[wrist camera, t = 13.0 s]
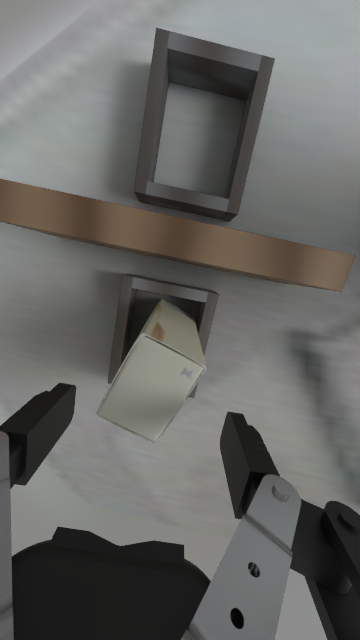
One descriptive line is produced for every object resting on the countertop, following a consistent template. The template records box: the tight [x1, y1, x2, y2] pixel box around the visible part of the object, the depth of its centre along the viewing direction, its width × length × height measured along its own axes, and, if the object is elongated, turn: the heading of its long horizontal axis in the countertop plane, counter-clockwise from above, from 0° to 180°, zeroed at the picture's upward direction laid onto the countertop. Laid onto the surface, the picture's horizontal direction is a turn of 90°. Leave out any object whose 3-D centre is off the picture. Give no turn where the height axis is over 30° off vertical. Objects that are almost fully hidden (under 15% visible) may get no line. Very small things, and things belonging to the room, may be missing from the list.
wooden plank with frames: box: [0, 28, 355, 398], centre depth 19 cm, size 24×29×8 cm
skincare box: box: [96, 299, 206, 444], centre depth 19 cm, size 6×4×12 cm
